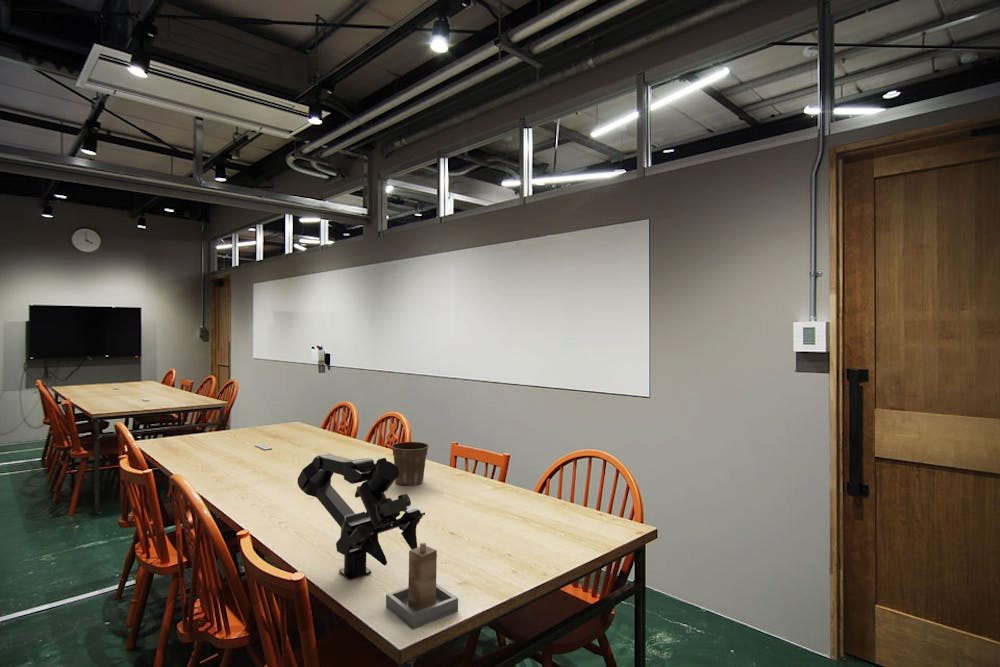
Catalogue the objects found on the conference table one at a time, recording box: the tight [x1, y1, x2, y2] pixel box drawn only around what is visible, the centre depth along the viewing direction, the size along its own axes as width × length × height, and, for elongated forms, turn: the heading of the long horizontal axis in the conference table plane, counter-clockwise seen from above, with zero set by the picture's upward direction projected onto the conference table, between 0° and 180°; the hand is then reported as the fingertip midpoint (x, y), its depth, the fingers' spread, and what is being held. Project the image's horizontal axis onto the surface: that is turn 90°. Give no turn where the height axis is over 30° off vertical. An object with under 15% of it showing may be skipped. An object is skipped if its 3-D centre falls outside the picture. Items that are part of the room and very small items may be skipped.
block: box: [407, 542, 438, 611], centre depth 118 cm, size 4×4×14 cm
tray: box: [385, 583, 459, 631], centre depth 118 cm, size 12×12×3 cm
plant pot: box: [390, 441, 430, 486], centre depth 223 cm, size 16×16×16 cm
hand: (401, 558), depth 123 cm, fingers open, 9 cm apart
